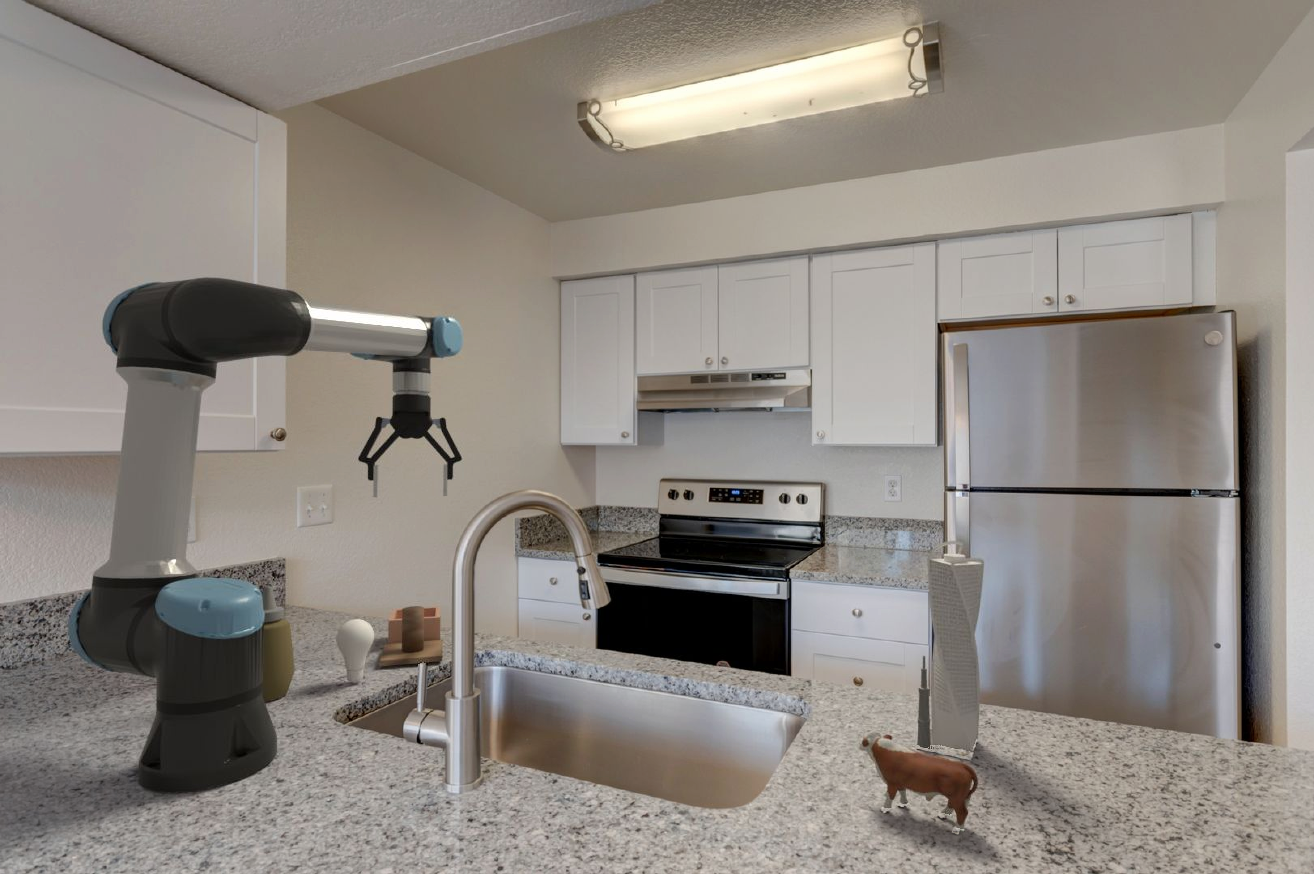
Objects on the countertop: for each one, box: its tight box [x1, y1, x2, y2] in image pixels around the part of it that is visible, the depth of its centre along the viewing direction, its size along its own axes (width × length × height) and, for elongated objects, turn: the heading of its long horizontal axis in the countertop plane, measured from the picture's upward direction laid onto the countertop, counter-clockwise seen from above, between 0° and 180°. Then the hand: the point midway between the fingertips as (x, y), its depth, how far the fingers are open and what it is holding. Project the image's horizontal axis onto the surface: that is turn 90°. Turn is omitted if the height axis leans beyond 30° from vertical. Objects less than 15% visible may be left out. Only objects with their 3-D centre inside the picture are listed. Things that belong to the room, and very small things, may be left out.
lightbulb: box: [335, 618, 375, 684], centre depth 121 cm, size 6×6×11 cm
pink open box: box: [387, 606, 442, 644], centre depth 146 cm, size 10×10×6 cm
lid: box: [379, 605, 444, 667], centre depth 135 cm, size 11×11×9 cm
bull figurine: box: [858, 729, 979, 830], centre depth 79 cm, size 4×13×8 cm, turn 51°
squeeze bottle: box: [261, 586, 296, 702], centre depth 114 cm, size 8×8×18 cm
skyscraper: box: [916, 540, 985, 752], centre depth 97 cm, size 8×8×28 cm
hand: (411, 496), depth 145 cm, fingers open, 13 cm apart
